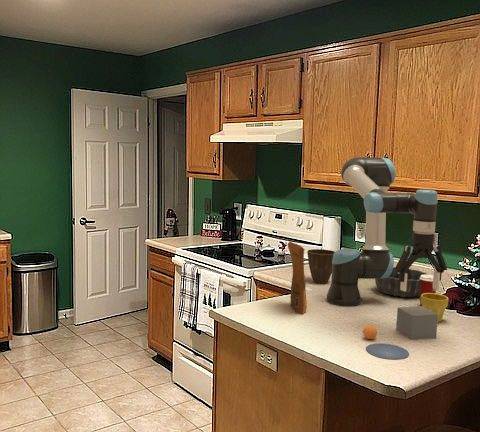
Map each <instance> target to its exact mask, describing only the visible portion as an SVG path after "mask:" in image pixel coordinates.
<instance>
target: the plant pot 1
mask: <svg viewBox="0 0 480 432" xmlns="http://www.w3.org/2000/svg"><path fill="white" fill-rule="evenodd" d="M335 252H336V251H335V250H331V249H322V248H321V249H320V248H313V249H308V250H307V260H308V268H309V271H310V272H309V273H310V275H311V279H312V282H313V283H314V282H316V283H315V284H318V283H320V284H319V285H326V284H329V281H330V279H331V277H332V260H333V254H334V253H335Z"/></svg>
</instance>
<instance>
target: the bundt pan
mask: <svg viewBox="0 0 480 432" xmlns="http://www.w3.org/2000/svg"><path fill="white" fill-rule="evenodd" d="M395 267H396V266H394V267H393V271H392V273H391V274H390V276H389V277H387V278H383V279H374V280H375V285H376V288H377V289H379V291H380V292H381V293H384V294H387V295H389V296H391V295H392V296H394V297H398V296H399V297H402V298H406V297H408V298H409V299H410V298H412V297H414V298H417V297H420V277H421V275H430V274H429V273H427V272H423V271H421V270H417V269H411V268H409V269H408V270H407V271H406V273H407V287H406V291H402V290H400V286H401V281H399V274H400V273H399V272H398V271H396V270H395Z"/></svg>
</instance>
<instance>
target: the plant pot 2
mask: <svg viewBox="0 0 480 432" xmlns="http://www.w3.org/2000/svg"><path fill="white" fill-rule="evenodd" d="M421 304H422V306H423V307H424V308H426V309H428V310H430V311H432V312H434V313H436V314H438V321H437V323H441V322H442V320H443V316H444V314H445V311H446V308H447V307H448V305H449V297H448V296H446V295H444V294H439V293H436V294H435V293H424V294H422V295H421Z"/></svg>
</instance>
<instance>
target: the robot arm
mask: <svg viewBox="0 0 480 432" xmlns="http://www.w3.org/2000/svg"><path fill="white" fill-rule="evenodd" d="M340 176H341V178H342V180H343V182H344V184H346V185H347V186H350V187H351V188H352V189H354V190H355V191H356V192H357V193H358V194H359V195H360V197H361V198H362V199H363V207H364V210H365V213H366V214H365V245H364V246H363V247H361V251H360V250H359V249H357V248H342V249H337V250H336V251H335V253H334V254H333V260H332V274H331V281H330V285H329V289H328V291H327V294H326V302H327V303H329V304H332V305H335V306H342V307H356V306H359V305H361V303H362V296H361V293H360V289H359V280H361V279H362V280H364V279H365V280H366V279H367V280H370V279H371V280H375V279H383V278H387V277H389V276H390V274H391V273H392V271H393V267H395V270H396V271H398V272H399V273H400V274H399V281H401V286H400V290H402V291H406V287H407V273H406V271H407V270H408V269H411V267H412V265H413V264H414V263H415V262H416V260H417V261H418V259H427V260H428V261H429V262H430V264H431V265H432V267H433V268H434V270H433V275H434V276H433V289H436V291H439V290H440V281H441V280H442V275H443V273H444V272H445V271H448V267H447V264H446V262H445V259H444V256H443V253H442V247H441V245H437V244H435V237H436V236H435V232H436V222H437V221H436V218H437V212H438V211H437V209H438V192H437V191H436V190H433V189H417V190H416V192H405V193H404V192H402V193H401V192H388V190H389V189H390V188H391V185H392V184H393V183H395V179H396V167H395V165H394V163H393V162H392V160H391V159H389V158H387V157H363V156H357V157H352V158H349V159H348V160H347V161H345V163H343V165H342V167H341V170H340ZM387 214H412V215H413V224H412V231H413V233H412V241H411V242H412V246H410V245H404V247H403V252H402V254H401V255H400V257H399V259H398V261H397V264H396V265H394V264H395V260H394V256H393V254H392V253H391V252H390V248H388V247H387V245H386V228H387V227H386V226H387V225H386V224H387V223H386V222H387V221H386V220H387V217H386V216H387ZM433 252H434V253H433ZM433 254H434V255H435V256H434V255H433Z"/></svg>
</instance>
